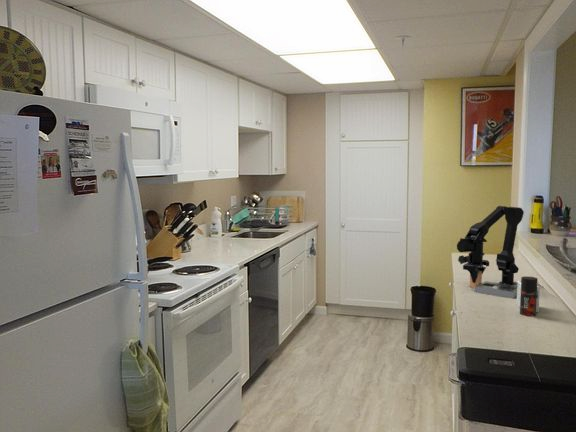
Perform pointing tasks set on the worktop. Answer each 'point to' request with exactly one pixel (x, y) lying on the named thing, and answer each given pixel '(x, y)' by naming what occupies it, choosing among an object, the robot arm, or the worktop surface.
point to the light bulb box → (520, 295)
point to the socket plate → (497, 289)
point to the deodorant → (528, 296)
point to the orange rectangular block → (478, 280)
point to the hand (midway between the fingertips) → (475, 281)
